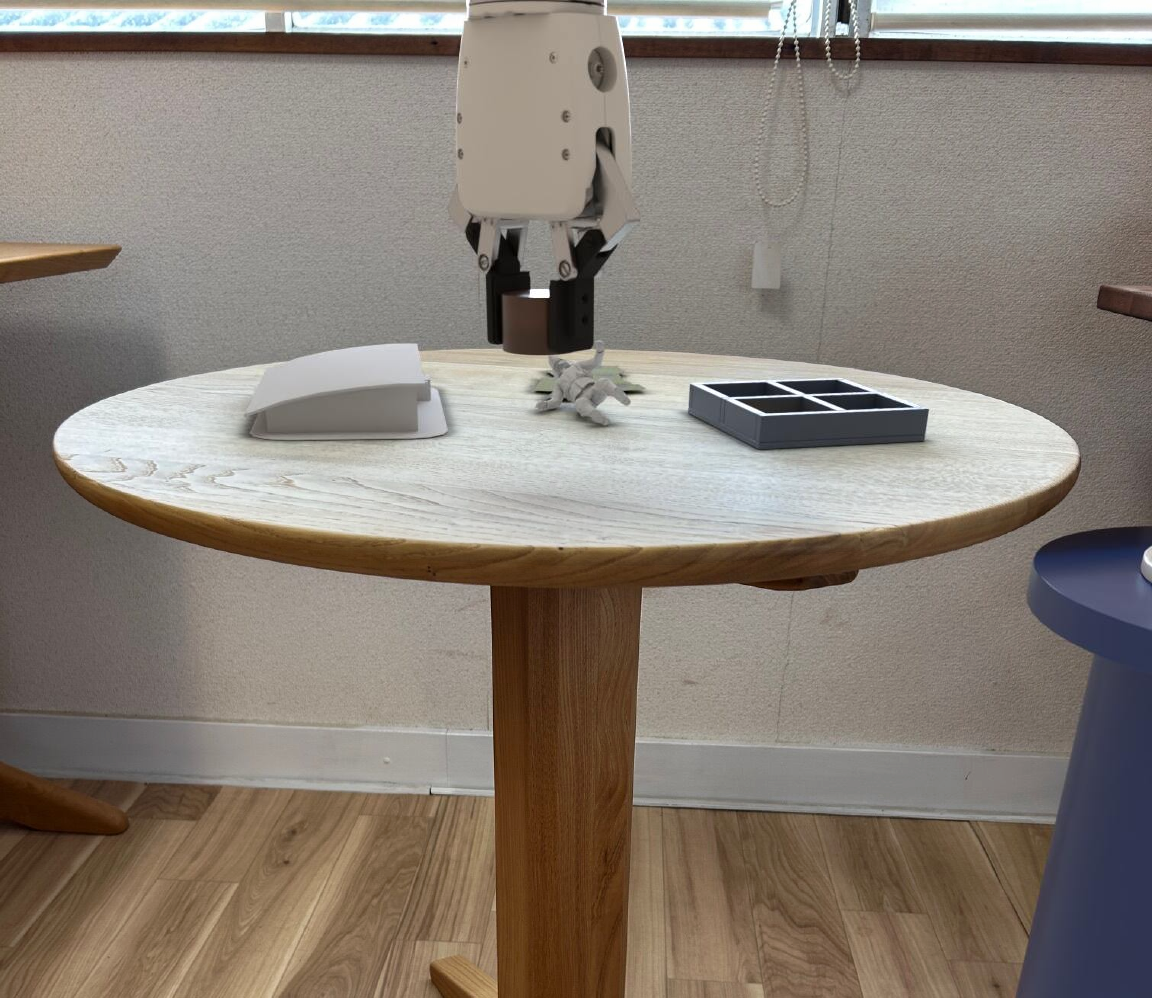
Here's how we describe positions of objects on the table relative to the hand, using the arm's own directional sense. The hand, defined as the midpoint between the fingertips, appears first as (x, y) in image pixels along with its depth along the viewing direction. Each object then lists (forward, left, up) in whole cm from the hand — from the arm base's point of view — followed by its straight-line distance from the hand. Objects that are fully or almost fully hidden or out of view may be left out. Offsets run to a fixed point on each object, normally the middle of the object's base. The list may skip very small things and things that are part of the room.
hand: (540, 343), depth 73 cm
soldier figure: (+27, -12, -10) cm, 31 cm away
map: (+40, -17, -10) cm, 45 cm away
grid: (+18, -28, -10) cm, 35 cm away
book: (+32, +7, -10) cm, 34 cm away
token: (0, 0, 0) cm, 0 cm away
